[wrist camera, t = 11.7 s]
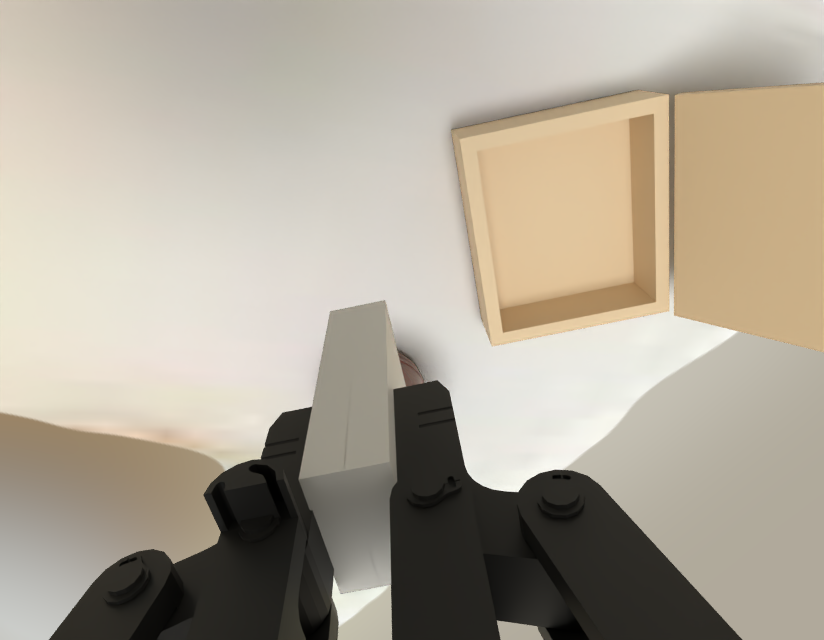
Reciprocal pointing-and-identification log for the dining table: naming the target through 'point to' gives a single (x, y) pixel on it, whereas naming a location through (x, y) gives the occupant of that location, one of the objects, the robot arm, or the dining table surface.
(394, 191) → the dining table surface
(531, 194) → the mailer box
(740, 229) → the lid
